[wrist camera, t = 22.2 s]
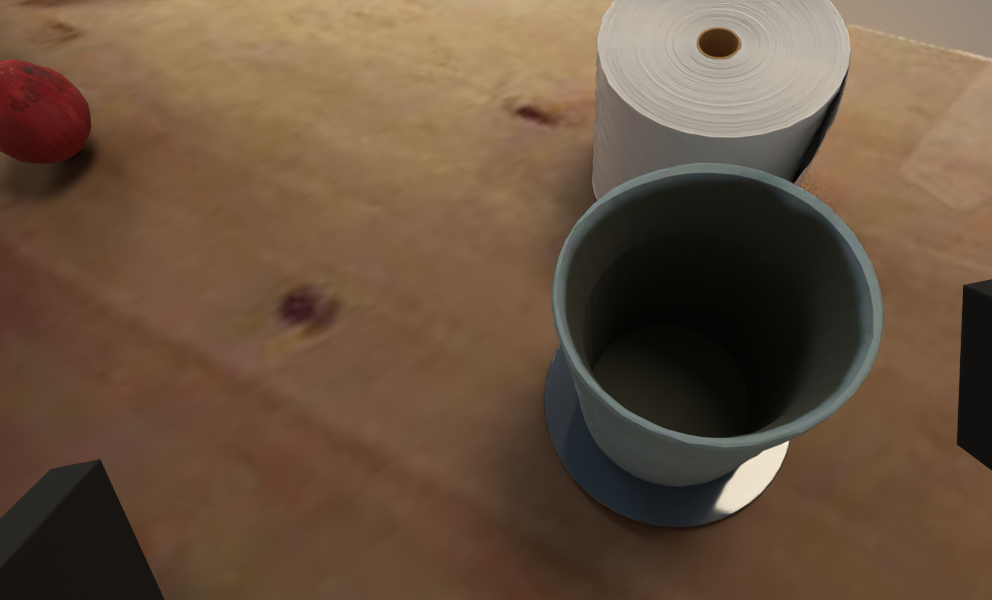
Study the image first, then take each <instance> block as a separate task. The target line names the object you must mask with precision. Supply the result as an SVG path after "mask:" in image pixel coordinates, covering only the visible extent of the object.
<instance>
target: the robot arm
mask: <svg viewBox="0 0 992 600" xmlns="http://www.w3.org/2000/svg"><path fill="white" fill-rule="evenodd" d="M957 445H959V446H960V447H961V448H963V449H964V450H965V451H967V452H968V453H969V454H971V455H972V456H973V457H975V458H976V459H977V460H979V461H980V462H981V463H983V464H984V465H985V466H986V467H988V468H989V469H990V470H992V279H991V280H986V281H981V282H976V283H971V284H966V285H963V305H962V330H961V354H960V379H959V403H958V428H957ZM0 600H164V598H163V596H162V593H161V591H160V589H159V587H158V585H157V582H156V580H155V578H154V576H153V574H152V572H151V569H150V567H149V565H148V563H147V561H146V558H145V556H144V554H143V552H142V550H141V547H140V545H139V543H138V541H137V539H136V537H135V534H134V532H133V530H132V528H131V526H130V523H129V521H128V519H127V517H126V515H125V512H124V510H123V508H122V506H121V504H120V502H119V499H118V497H117V495H116V493H115V491H114V488H113V486H112V484H111V482H110V480H109V477H108V475H107V473H106V471H105V469H104V467H103V464H102V462H101V460H100V459H99V460H94V461H89V462H84V463H79V464H74V465H69V466H64V467H59V468H54V469H50V470H49V471H48V472H47V473H46V474H45V475H44V476H43V477H42V478H41V479H40V480H39V481H38V482H37V483H36V484H35V485H34V486H33V487H32V488H31V489H30V490H29V491H28V492H27V493H26V494H25V495H24V496H23V497H22V498H21V499H20V500H19V501H18V502H17V503H16V504H15V505H14V506H13V507H12V508H11V509H10V510H9V511H8V512H7V513H6V514H5V515H4V516H3V517H2V518H1V519H0Z"/></svg>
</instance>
